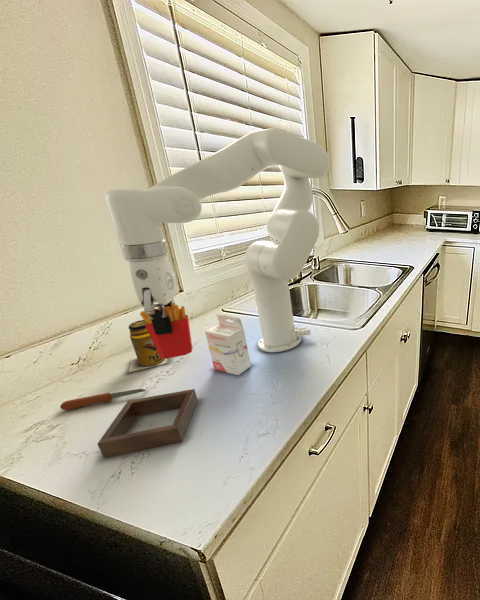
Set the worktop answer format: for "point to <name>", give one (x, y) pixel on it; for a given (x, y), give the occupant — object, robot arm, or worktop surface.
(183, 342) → the french fries
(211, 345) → the ink cartridge box
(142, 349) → the condiment
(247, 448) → the worktop surface
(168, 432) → the holder
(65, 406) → the kitchen knife
